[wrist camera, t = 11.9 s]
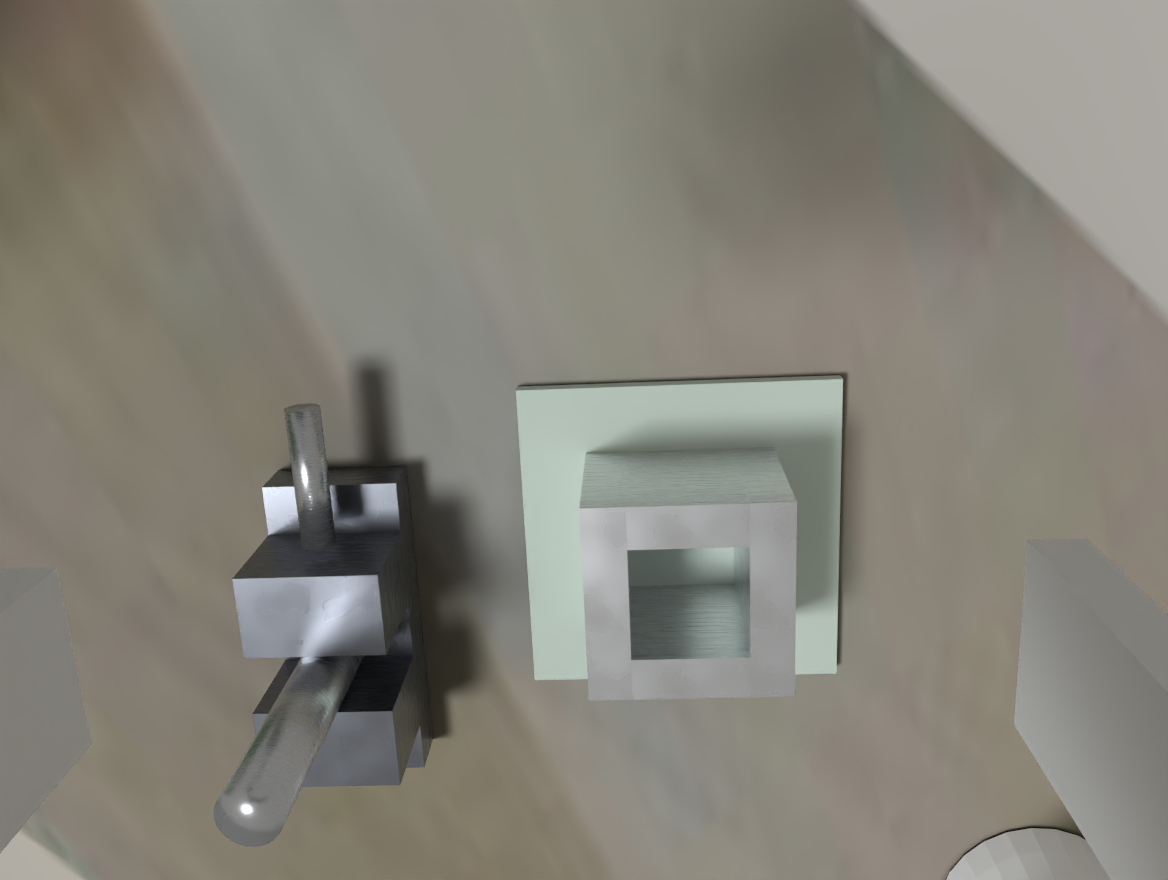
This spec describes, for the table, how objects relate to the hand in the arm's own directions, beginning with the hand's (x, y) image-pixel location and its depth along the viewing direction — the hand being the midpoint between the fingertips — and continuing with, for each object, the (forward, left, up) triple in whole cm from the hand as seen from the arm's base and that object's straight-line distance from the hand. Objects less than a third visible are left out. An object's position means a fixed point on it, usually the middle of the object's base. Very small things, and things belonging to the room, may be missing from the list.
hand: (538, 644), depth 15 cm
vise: (+10, -10, -27) cm, 30 cm away
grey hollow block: (+9, +3, -26) cm, 28 cm away
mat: (+9, +3, -27) cm, 28 cm away
